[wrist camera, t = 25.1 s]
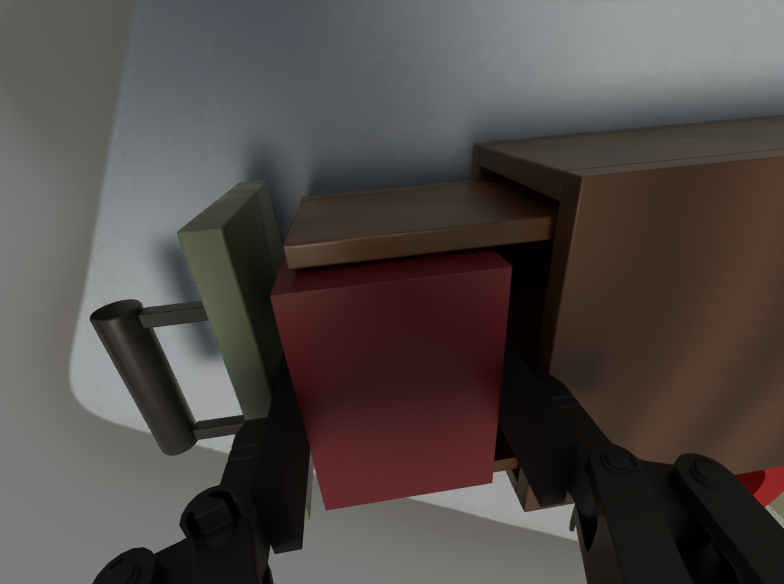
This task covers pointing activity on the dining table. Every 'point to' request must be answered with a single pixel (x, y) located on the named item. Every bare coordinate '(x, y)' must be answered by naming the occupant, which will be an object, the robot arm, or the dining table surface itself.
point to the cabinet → (664, 285)
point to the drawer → (311, 249)
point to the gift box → (778, 504)
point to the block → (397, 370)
